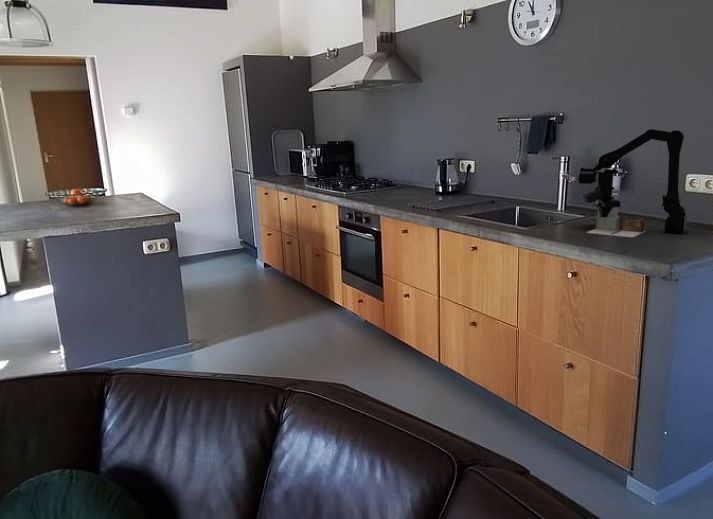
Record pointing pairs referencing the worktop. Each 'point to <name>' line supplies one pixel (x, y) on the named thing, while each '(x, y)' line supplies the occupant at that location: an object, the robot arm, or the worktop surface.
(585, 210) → the worktop surface
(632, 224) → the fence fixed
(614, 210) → the gray block
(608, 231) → the card
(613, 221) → the fence panel
